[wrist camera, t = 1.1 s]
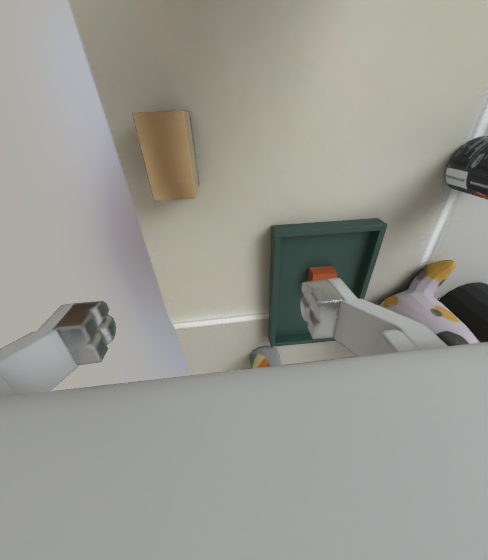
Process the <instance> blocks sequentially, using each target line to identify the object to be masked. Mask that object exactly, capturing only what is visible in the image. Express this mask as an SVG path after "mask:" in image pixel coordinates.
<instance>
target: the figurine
mask: <svg viewBox="0 0 488 560" xmlns="http://www.w3.org/2000/svg"><path fill="white" fill-rule="evenodd" d="M455 265H456V263H455V261H453V260H444V261H438V262H434V263H432V264H430V265H428V266H426V267H425V268H424V269H422V270H421V271H420V272H419V273H418V274H417V276H416V277H415V278H414V280H413V281H412V282H411V284H410V286H409V288H408V289H407V290H406V291H403V292H401V293H398V294H395V295H392V296H390V297H388V298H386V299H385V300H384V301H383V302H382V303H380V304H379V305H378V306H381V307H383V308H385V309H388V310H390V311H393V312H395V313H397V314H400V315H402V316H405V317H407V318H409V319H412V320H414V321H417V322H419V323H421V324H424V325H426V326H427V327H428V328H429V329H430V330H431V331H432V332H433V333H434V334H435V335H437V336H438V337H439V338H440V339H441V340H442V341H443V342H444V343H445V344H446V345H447V346H456V345H465V344H473V343H481V342H480V341H479V340H478V339H477V338H476V337H475V336H474V335H473V333H472V332H471V331H470V330H469V329H468V328H467V327H466V325H465V324H463V323H462V322H461V321H460V320H459V319H458V318H457V317H456V316H455V315H454V314H453V313H452V312H451V311H450V310H449V309H448V308H446V307H445V306H444V305H443V304H442V303H441V302H439V301H438V300H437V299H435V297H434V293H435V292H436V290H437V289H438V287H439V286H440V285H441V284H442V283H443V282H444V280H445V279H446V278H447V277H448V275H449V274H450V273H451V272H452V270H453V269H454V267H455Z"/></svg>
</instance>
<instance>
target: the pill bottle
mask: <svg viewBox="0 0 488 560" xmlns="http://www.w3.org/2000/svg"><path fill="white" fill-rule="evenodd" d="M446 181H447V184H448V185H449V186H450V187H451V188H453V189H456V190H459V191H462V192H465V193H468V194H472V195H475V196H478V197H481V198H485V199H488V136H482V137H478V138H475V139H473V140H471V141H469V142H467V143H466V144H465V145H463V146H462V147H461V148H460V149H459V150H458V151H457V152H456V153H455V155H454V156H453V157H452V159H451V160H450V162H449V164H448V167H447V170H446Z"/></svg>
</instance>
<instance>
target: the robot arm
mask: <svg viewBox="0 0 488 560" xmlns="http://www.w3.org/2000/svg"><path fill="white" fill-rule="evenodd" d="M301 291H302V293H303V295H304V296H303V297H302V298H301V304H300V307H301V313H302V317H303V319H304V321H306V322H308V330H309V332H310V334H311V336H312V338H313V339H322V338H334V339H335V340H336V341H338V342H339V343H340V344H342V345H343V346H344V347H346V348H347V349H348V350H350V351H351V352H352V353H354V354H355V355H356V356H358V357H349V358H341V359H332V360H323V361H315V362H306V363H297V364H288V365H279V366H270V367H261V368H252V369H243V370H234V371H225V372H216V373H208V374H199V375H190V376H181V377H173V378H164V379H156V380H146V381H137V382H128V383H120V384H111V385H102V386H93V387H84V388H75V389H66V390H57V391H51V390H52V389H53V388H54V387H56V386H57V385H58V384H59V383H60V382H61V381H62V380H63V379H65V378H66V377H67V376H68V375H69V374H70V373H71V372H73V371H74V370H75V369H76V368H77V367H78V365H83V364H91V363H98V362H101V361H102V359H103V358H104V355H105V354H106V352H107V350H108V348H107V344H109V343H110V342H111V341H112V340H113V339H114V336H115V333H116V325H115V321H114V319H113V318H112V317H111V316H109V315H108V312H109V308H108V306H107V304H106V303H105V302H103V301H99V302H85V303H73V304H65V305H61V306H60V307H59V308H58V309H57V311H56V312H54V314H53V315H52V316H51V317H50V318H49V319H48V320H47V321H46V322H45V323H44V324H43V325H42V326H41V327H40V328H39V329H38V330H37V331H36V332H31V333H29V334H28V335H26V336H24V337H22V338H20V339H18V340H16V341H14V342H13V343H10V344H9V345H7V346H5V347H3V348H1V349H0V560H488V342H482V343H473V344H465V345H456V346H447V345H446V344H445V343H444V342H443V341H442V340H441V339H440V338H439V337H438V336H437V335H435V334H434V333H433V332H432V331H431V330H430V329H429V328H428V327H427V326H426V325H424V324H421V323H419V322H417V321H414V320H412V319H409V318H407V317H405V316H402V315H400V314H397V313H395V312H393V311H390V310H388V309H385V308H383V307H381V306H378V305H376V304H373V303H371V302H369V301H366V300H364V299H358V298H357V297H356V296H355V295H354V294H353V293H352V291H351V290H350V289H349V288H348V287H347V286H346V285H345V283H344V282H343V281H342V280H341V279H340V278H332V279H325V280H316V281H308V282H303V284H302V290H301Z"/></svg>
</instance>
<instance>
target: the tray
mask: <svg viewBox="0 0 488 560" xmlns="http://www.w3.org/2000/svg"><path fill="white" fill-rule="evenodd" d="M386 228H387V224H386V223H385V222H383V221H381V220H380V219H378V218H375V219H360V220H346V221H332V222H317V223H303V224H289V225H274V226H272V232H271V267H270V302H269V341H270V346H271V347H273V346H283V345H294V344H304V343H315V342H326V341H336V340H335V339H334V338H322V339H313V338H312V336H311V334H310V332H309V330H308V322H306V321H304V319H303V317H302V313H301V307H300V304H301V298H302V297H303V296H304V295H303V293H302V291H301V290H302V284H303V282H307V278H308V271H309V268H310V267H322V266H333V268H334V269H335V270H336V272H337V277H336V278H340V279H341V280H342V281H343V282H344V283H345V285H346V286H347V287H348V288H349V289H350V290H351V291H352V293H353V294H354V295H355V296H356V297H357V298H358V299H364V297H365V294H366V291H367V288H368V284H369V281H370V278H371V275H372V272H373V269H374V266H375V262H376V259H377V256H378V253H379V250H380V247H381V244H382V241H383V237H384V234H385V231H386Z"/></svg>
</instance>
